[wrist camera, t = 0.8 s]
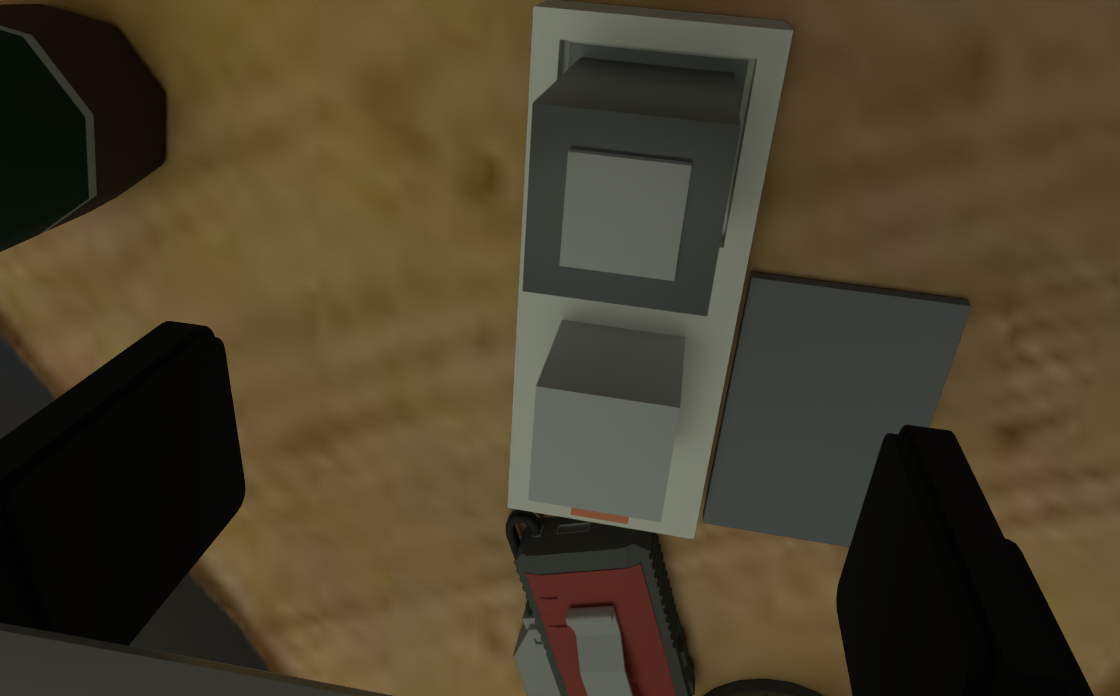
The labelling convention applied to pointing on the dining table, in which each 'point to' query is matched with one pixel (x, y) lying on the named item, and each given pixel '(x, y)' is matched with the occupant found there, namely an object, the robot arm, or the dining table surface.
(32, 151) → the beer bottle
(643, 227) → the block
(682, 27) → the power strip
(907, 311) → the mat
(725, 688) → the thermos
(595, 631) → the walkie-talkie
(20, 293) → the dining table surface
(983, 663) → the robot arm
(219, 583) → the dining table surface
